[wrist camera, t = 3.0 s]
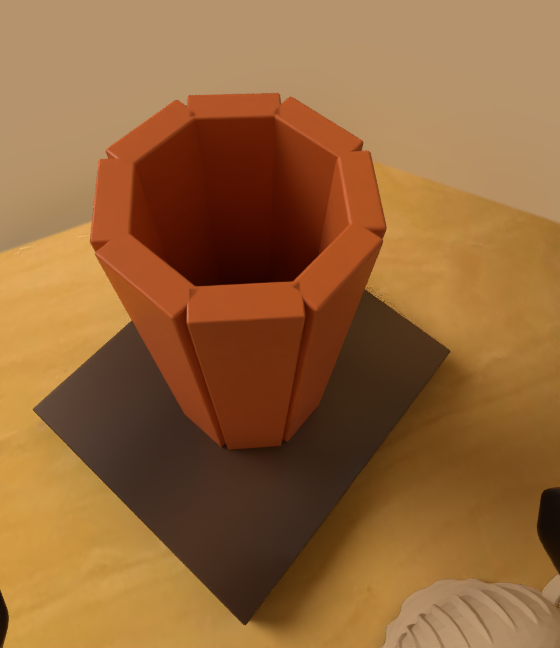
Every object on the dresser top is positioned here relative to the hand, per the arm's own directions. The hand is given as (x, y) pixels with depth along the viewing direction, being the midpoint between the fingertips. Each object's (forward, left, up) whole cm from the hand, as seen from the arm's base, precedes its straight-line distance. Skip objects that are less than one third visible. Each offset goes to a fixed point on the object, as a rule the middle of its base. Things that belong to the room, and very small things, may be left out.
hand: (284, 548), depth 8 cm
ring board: (+5, -5, -13) cm, 14 cm away
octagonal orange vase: (+5, -5, -11) cm, 13 cm away
